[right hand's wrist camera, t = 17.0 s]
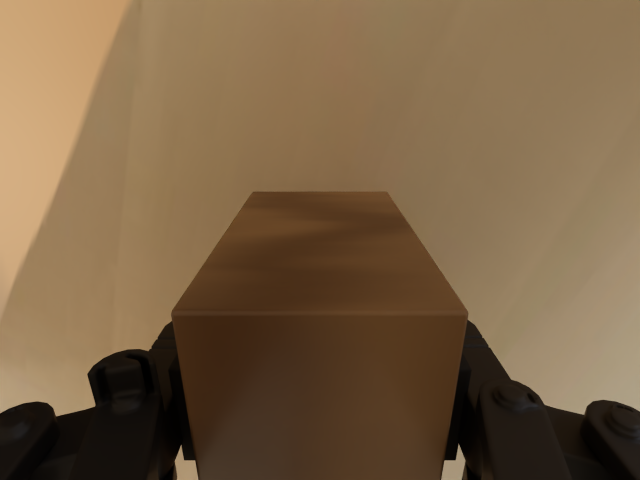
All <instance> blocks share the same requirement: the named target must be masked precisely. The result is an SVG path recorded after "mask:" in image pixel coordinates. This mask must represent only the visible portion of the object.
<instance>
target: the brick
mask: <svg viewBox="0 0 640 480" xmlns="http://www.w3.org/2000/svg"><path fill="white" fill-rule="evenodd" d="M171 316H172V322H173V328H174V334H175V340H176V346H177V352H178V358H179V364H180V370H181V376H182V382H183V388H184V394H185V401H186V407H187V413H188V419H189V425H190V431H191V437H192V443H193V449H194V455H195V461H196V467H197V473H198V479H199V480H441V477H442V471H443V465H444V459H445V453H446V447H447V440H448V434H449V428H450V422H451V416H452V410H453V404H454V398H455V392H456V386H457V380H458V374H459V368H460V361H461V355H462V349H463V343H464V337H465V331H466V325H467V319H468V311H467V309H466V308H465V306H464V305H463V303H462V302H461V301H460V299H459V298H458V296H457V295H456V293H455V292H454V290H453V289H452V287H451V286H450V284H449V283H448V281H447V280H446V278H445V277H444V275H443V274H442V272H441V271H440V269H439V268H438V267H437V265H436V264H435V262H434V261H433V259H432V258H431V256H430V255H429V253H428V252H427V250H426V249H425V247H424V246H423V244H422V243H421V241H420V240H419V238H418V237H417V235H416V234H415V232H414V231H413V230H412V228H411V227H410V225H409V224H408V222H407V221H406V219H405V218H404V216H403V215H402V213H401V212H400V210H399V209H398V207H397V206H396V204H395V203H394V201H393V200H392V198H391V197H390V196H389V194H388V193H387V192H252V194H251V195H250V197H249V198H248V200H247V201H246V203H245V204H244V206H243V207H242V208H241V210H240V211H239V213H238V214H237V216H236V217H235V219H234V220H233V222H232V223H231V225H230V226H229V228H228V229H227V231H226V232H225V234H224V235H223V236H222V238H221V239H220V241H219V242H218V244H217V245H216V247H215V248H214V250H213V251H212V253H211V254H210V256H209V257H208V259H207V260H206V262H205V263H204V264H203V266H202V267H201V269H200V270H199V272H198V273H197V275H196V276H195V278H194V279H193V281H192V282H191V284H190V285H189V287H188V288H187V290H186V291H185V292H184V294H183V295H182V297H181V298H180V300H179V301H178V303H177V304H176V306H175V307H174V309H173V310H172V313H171Z"/></svg>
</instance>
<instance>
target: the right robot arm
mask: <svg viewBox="0 0 640 480" xmlns="http://www.w3.org/2000/svg"><path fill="white" fill-rule="evenodd" d="M87 375H88V378H89V382H90V386H91V389H92V393H93V396H94V400H95V404H96V406H95V407H93V408H89V409H86V410H82V411H78V412H74V413H69V414H65V415H61V416H57V417H56V415H55V412H54V409H53V408H52V407H51V406H50V405H49V404H48V403H43V402H30V403H24V404H21V405H18V406H15V407H12V408H9V409H7V410H6V411H4V412H2V413H0V480H177V473H176V466H175V459H176V456H177V454H178V451H179V449H180V446H181V445H182V451H183V456H184V460H195V455H194V449H193V443H192V437H191V431H190V425H189V419H188V413H187V407H186V401H185V394H184V388H183V382H182V376H181V370H180V364H179V358H178V352H177V346H176V340H175V334H174V328H173V322H170V323H169V324H167V325H166V326H165V327H164V329H163V330H162V332H161V333H160V335H159V336H158V340H156V341H155V342H154V344H153V345H152V349H150V350H149V351H145V350H141V349H132V350H125V351H121V352H117V353H114V354H112V355H110V356H108V357H105V358H103V359H102V360H101V361H99V362H98V363H97V364H95V365H94V366H93V367H92V368H91V370H90V371H89V373H88V374H87ZM458 444H459V445H460V448H461V450H462V453H463V455H464V458H465V460H466V461H465V466H464V471H463V477H462V480H640V412H639V411H638V410H636V409H634V408H632V407H630V406H627V405H624V404H621V403H618V402H614V401H607V400H599V401H593V402H592V403H591V404H589V405H588V406H587V408H586V411H585V414H584V415H582V414H577V413H573V412H569V411H564V410H560V409H556V408H552V407H549V406H546V405H544V403H543V402H542V400H541V398H540V397H539V395H537V394H536V393H535V392H534V391H533V390H531V389H530V388H529V387H527V386H525V385H523V384H521V383H519V382H517V381H514V380H511V379H510V377H509V376H508V374H507V373H506V371H505V370H504V368H503V367H502V365H501V364H500V362H499V361H498V359H497V358H496V356H495V355H494V353H493V352H492V350H491V349H490V348H489V347H488V344H487V343H486V341H485V340H484V338H482V335H481V334H480V332H479V331H478V329H477V328H476V326H475V325H474V324H473V323H471V322H470V321H469V320H467V325H466V331H465V337H464V343H463V349H462V355H461V361H460V368H459V374H458V380H457V386H456V392H455V398H454V404H453V410H452V416H451V422H450V428H449V434H448V440H447V447H446V453H445V459H444V460H456V455H457V449H458Z"/></svg>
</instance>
